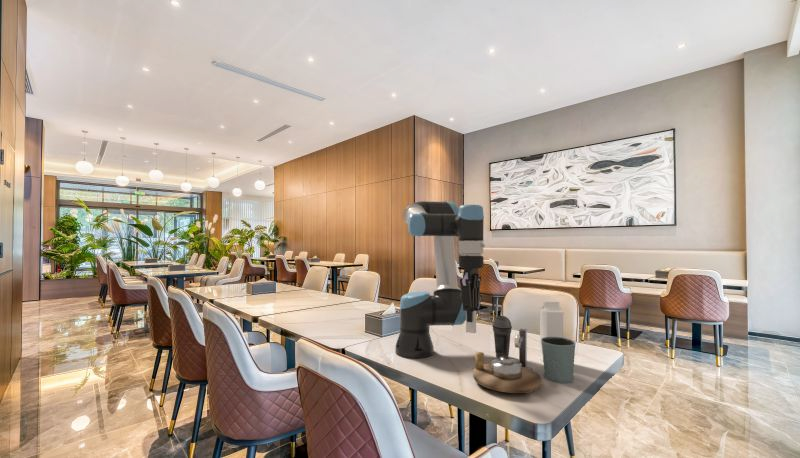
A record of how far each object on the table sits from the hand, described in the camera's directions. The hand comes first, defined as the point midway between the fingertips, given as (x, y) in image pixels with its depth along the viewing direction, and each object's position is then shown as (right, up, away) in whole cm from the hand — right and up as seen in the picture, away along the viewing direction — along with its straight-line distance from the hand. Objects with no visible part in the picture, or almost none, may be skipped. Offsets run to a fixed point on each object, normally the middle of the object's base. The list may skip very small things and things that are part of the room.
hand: (471, 332), depth 108 cm
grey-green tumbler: (+30, -17, +6) cm, 35 cm away
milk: (+34, -18, +21) cm, 44 cm away
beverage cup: (+17, -18, +27) cm, 36 cm away
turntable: (+11, -15, +1) cm, 19 cm away
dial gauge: (+18, -17, +9) cm, 26 cm away
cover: (+11, -13, +1) cm, 17 cm away
